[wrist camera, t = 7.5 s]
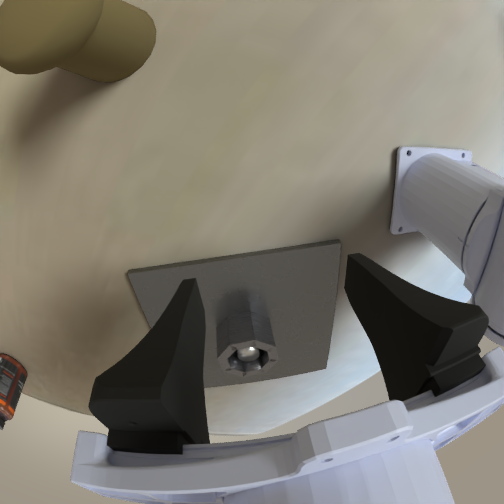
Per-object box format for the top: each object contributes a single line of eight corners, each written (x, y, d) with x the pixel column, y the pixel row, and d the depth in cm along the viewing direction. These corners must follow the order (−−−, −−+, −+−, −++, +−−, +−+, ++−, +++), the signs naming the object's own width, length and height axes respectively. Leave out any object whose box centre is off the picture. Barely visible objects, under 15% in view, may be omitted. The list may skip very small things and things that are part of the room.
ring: (266, 307, 26) (272, 335, 23) (274, 342, 29) (281, 369, 26) (211, 319, 26) (211, 348, 23) (226, 352, 29) (228, 379, 26)
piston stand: (338, 239, 24) (353, 260, 21) (324, 364, 33) (331, 385, 30) (129, 269, 23) (119, 293, 20) (182, 385, 32) (181, 406, 30)
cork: (130, 93, 16) (41, 102, 6) (64, 70, 14) (-44, 76, 4) (173, 18, 13) (127, -52, 4) (102, -2, 11) (18, -51, 2)
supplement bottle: (-7, 347, 27) (-32, 404, 17) (20, 358, 28) (-4, 420, 19) (6, 370, 30) (-14, 423, 20) (33, 380, 31) (14, 438, 21)
